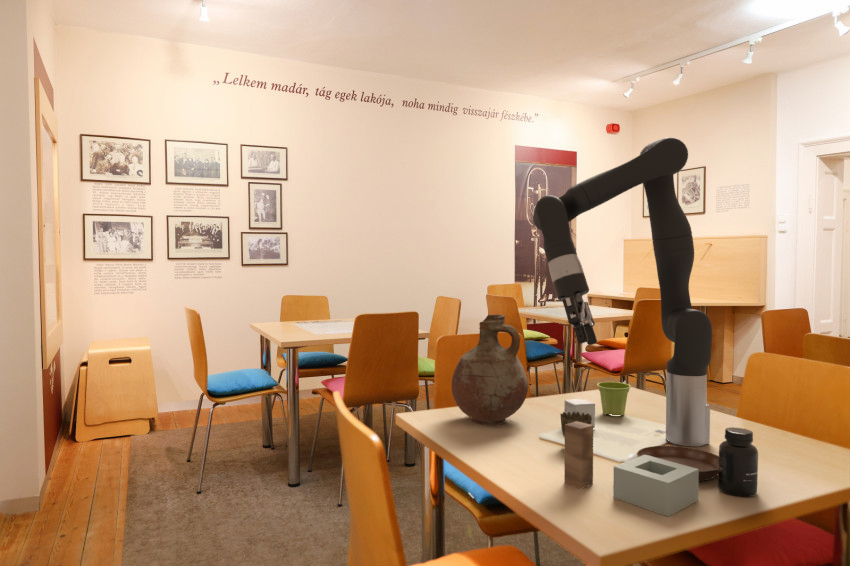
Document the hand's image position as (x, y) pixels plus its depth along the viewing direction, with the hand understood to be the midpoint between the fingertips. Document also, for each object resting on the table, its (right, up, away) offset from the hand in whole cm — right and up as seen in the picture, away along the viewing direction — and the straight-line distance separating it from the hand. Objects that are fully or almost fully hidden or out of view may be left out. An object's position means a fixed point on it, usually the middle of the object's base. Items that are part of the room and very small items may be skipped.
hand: (588, 343), depth 136 cm
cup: (-1, -26, +8) cm, 27 cm away
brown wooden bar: (-6, -27, -15) cm, 31 cm away
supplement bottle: (+24, -27, -19) cm, 41 cm away
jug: (-19, -25, +32) cm, 45 cm away
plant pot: (+18, -25, +39) cm, 50 cm away
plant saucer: (+18, -27, -7) cm, 33 cm away
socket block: (+6, -27, -23) cm, 36 cm away
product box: (+4, -26, +25) cm, 36 cm away
